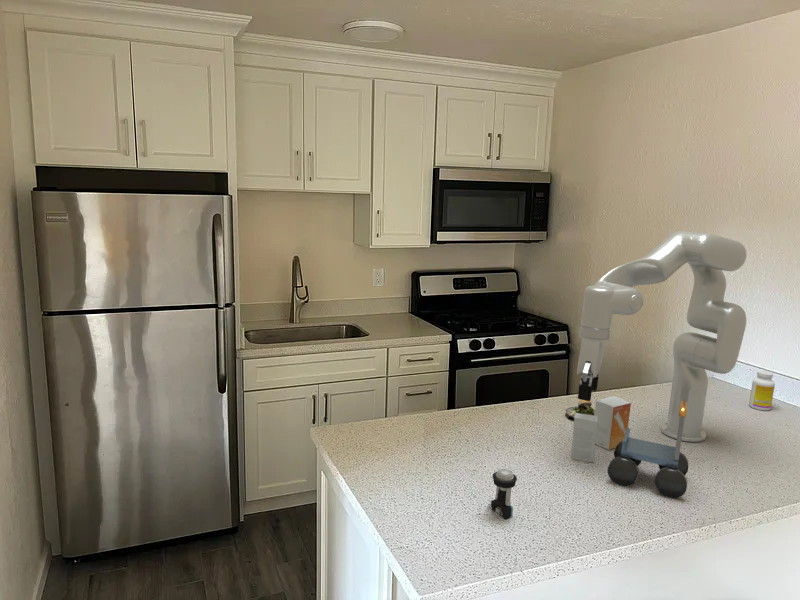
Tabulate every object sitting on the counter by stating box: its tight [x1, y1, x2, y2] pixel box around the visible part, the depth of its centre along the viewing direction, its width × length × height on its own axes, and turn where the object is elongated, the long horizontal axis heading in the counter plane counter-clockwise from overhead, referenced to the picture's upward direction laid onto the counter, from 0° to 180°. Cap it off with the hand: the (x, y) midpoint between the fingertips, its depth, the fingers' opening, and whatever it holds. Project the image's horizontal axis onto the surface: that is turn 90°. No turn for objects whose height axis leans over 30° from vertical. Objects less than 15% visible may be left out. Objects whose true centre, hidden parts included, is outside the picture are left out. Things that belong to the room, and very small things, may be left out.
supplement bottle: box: [748, 370, 775, 412], centre depth 207 cm, size 7×7×13 cm
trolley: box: [607, 401, 689, 499], centre depth 150 cm, size 13×18×21 cm
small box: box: [594, 395, 632, 450], centre depth 172 cm, size 8×6×13 cm
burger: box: [564, 400, 595, 420], centre depth 192 cm, size 12×12×8 cm
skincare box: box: [570, 413, 598, 463], centre depth 162 cm, size 6×4×12 cm
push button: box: [487, 468, 518, 521], centre depth 133 cm, size 7×5×10 cm
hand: (587, 394), depth 160 cm, fingers open, 9 cm apart
